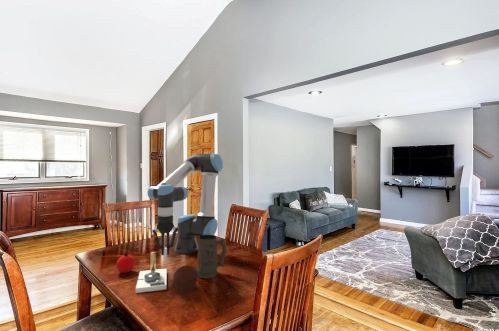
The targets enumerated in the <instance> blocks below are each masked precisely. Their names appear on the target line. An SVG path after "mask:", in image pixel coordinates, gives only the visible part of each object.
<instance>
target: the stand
mask: <svg viewBox="0 0 499 331" xmlns="http://www.w3.org/2000/svg"><path fill="white" fill-rule="evenodd" d="M155 272H158V273H160V279H158V280H156V281H152V282H147V281H145V280H144V276H145V275H146V274H148V273H151V271H150V269H149V270H140V271H139V274H138V278H137V282H136V285H135V294H138V293H146V292H154V291H155V292H157V291H163V290H167V280H168V279H167V268H158V269H157V268H156V271H155Z"/></svg>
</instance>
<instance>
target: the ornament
mask: <svg viewBox="0 0 499 331" xmlns="http://www.w3.org/2000/svg"><path fill="white" fill-rule="evenodd" d="M135 265H136V259H135V257H134V256H133V255H131V254H129V252H124V253H123V255H121V256H120V257H119V258H118V259H117V261H116V269H117V270H118V271H119V272H120V273H124V274H125V273H126V274H127V273H130V272H131V271H132V270H134V267H135Z"/></svg>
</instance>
